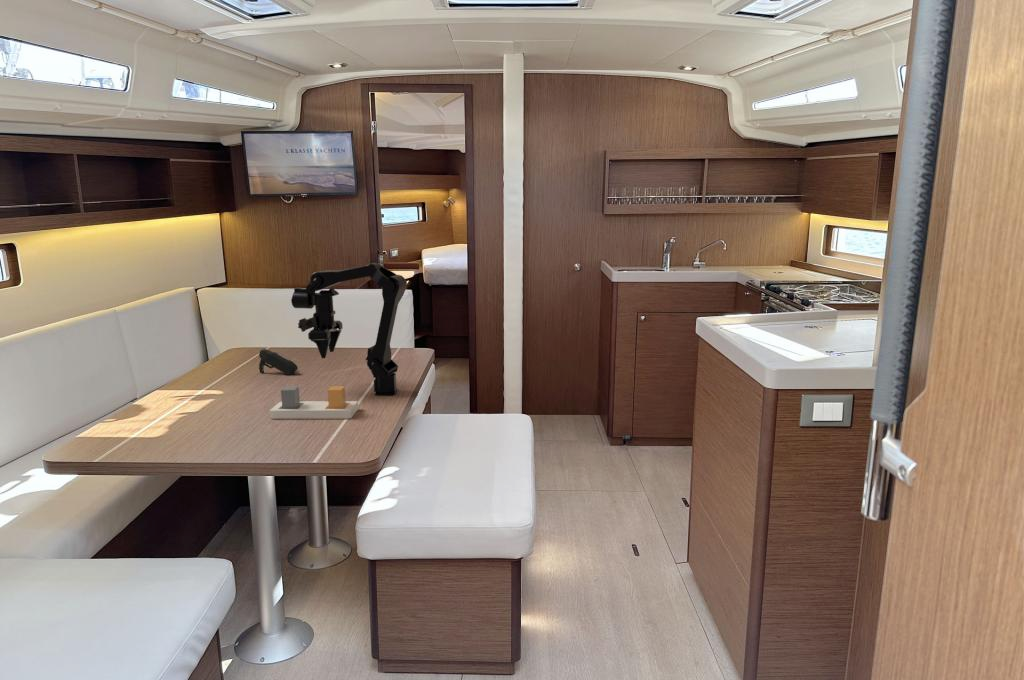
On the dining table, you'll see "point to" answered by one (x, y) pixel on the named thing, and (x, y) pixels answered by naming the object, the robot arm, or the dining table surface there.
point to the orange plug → (336, 397)
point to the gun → (277, 362)
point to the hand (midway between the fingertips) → (327, 355)
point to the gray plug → (290, 397)
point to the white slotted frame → (314, 411)
